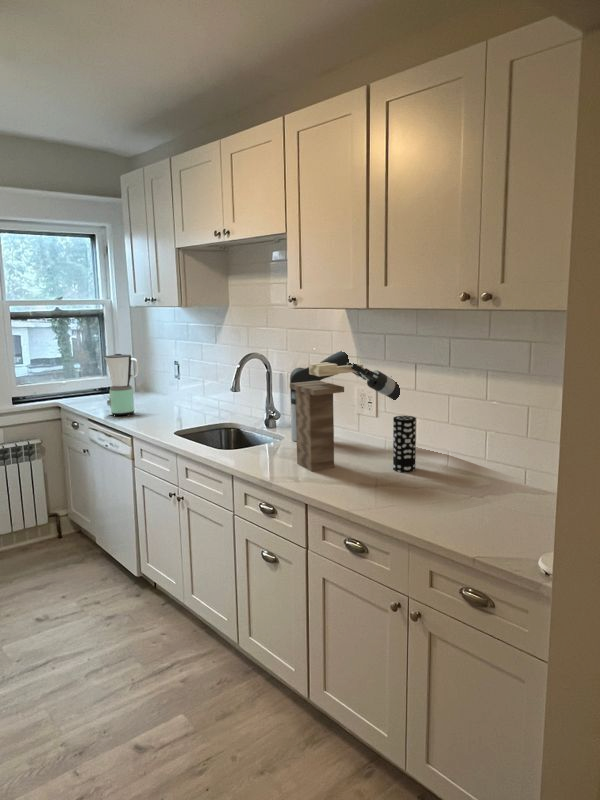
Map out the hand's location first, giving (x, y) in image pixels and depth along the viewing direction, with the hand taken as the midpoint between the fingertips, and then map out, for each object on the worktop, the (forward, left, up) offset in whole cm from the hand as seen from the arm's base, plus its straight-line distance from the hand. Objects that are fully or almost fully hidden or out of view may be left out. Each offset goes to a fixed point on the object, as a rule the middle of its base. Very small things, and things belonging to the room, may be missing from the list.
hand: (349, 365), depth 235 cm
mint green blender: (-149, -61, -39) cm, 166 cm away
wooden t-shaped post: (0, -15, -39) cm, 41 cm away
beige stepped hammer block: (0, -6, -3) cm, 6 cm away
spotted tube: (+22, +10, -39) cm, 46 cm away
